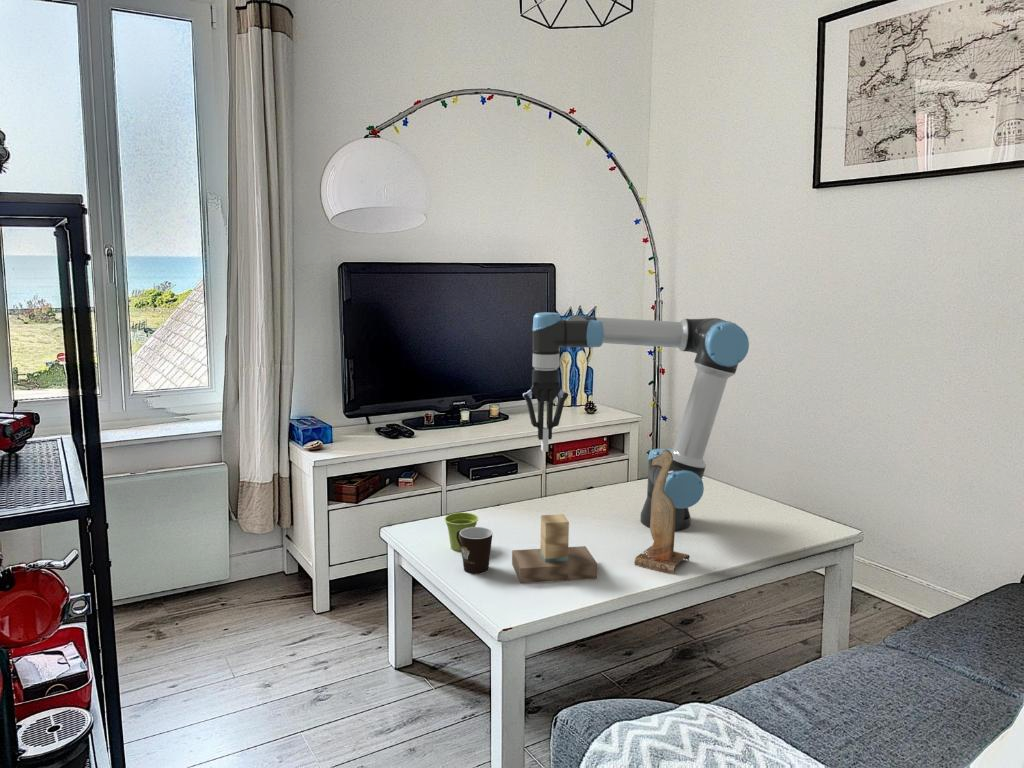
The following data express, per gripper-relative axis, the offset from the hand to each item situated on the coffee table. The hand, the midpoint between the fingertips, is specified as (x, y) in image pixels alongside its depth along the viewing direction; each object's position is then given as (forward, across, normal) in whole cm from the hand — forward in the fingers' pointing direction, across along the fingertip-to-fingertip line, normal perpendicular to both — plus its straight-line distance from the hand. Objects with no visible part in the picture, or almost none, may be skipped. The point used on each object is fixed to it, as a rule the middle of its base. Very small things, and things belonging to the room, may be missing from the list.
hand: (544, 450), depth 223 cm
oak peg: (+26, +2, +23) cm, 35 cm away
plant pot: (+27, +24, +3) cm, 36 cm away
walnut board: (+26, +2, +23) cm, 35 cm away
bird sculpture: (+27, -28, +22) cm, 45 cm away
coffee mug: (+27, +22, +17) cm, 38 cm away
